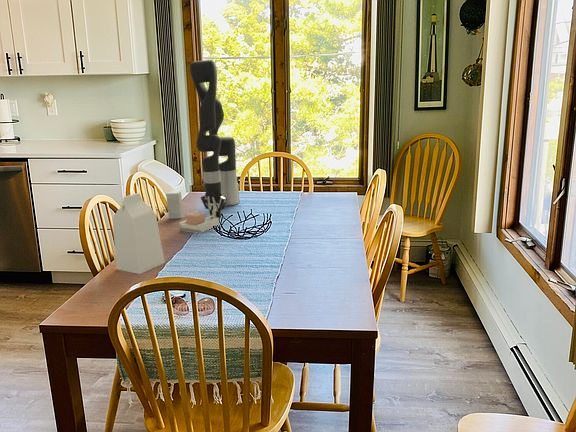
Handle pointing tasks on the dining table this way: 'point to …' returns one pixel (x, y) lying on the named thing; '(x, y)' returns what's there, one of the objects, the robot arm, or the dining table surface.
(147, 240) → the milk
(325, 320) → the dining table surface
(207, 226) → the shelf lane
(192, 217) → the peach block with knob
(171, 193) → the skincare box
